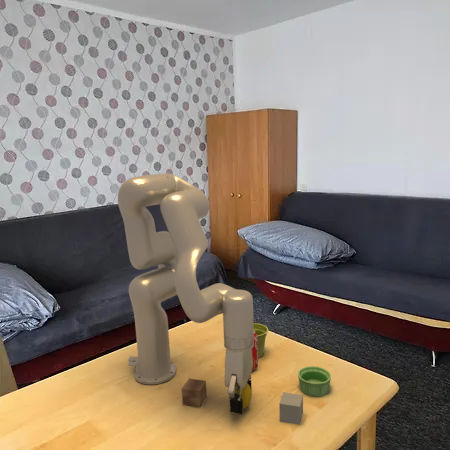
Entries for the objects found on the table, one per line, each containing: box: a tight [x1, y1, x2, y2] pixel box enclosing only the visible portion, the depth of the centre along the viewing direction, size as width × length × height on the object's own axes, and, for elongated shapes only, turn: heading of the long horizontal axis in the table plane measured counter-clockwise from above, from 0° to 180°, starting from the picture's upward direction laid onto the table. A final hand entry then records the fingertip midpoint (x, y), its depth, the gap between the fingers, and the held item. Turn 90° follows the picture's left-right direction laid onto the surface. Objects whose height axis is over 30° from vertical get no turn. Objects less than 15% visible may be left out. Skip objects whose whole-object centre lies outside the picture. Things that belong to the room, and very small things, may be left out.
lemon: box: [235, 383, 253, 409], centre depth 108 cm, size 6×6×8 cm
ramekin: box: [297, 365, 332, 397], centre depth 116 cm, size 9×9×4 cm
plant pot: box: [253, 322, 269, 358], centre depth 137 cm, size 9×9×9 cm
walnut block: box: [181, 378, 208, 409], centre depth 113 cm, size 5×5×5 cm
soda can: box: [252, 330, 259, 372], centre depth 128 cm, size 7×7×12 cm
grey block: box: [278, 392, 304, 426], centre depth 105 cm, size 5×5×5 cm
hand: (241, 402), depth 109 cm, fingers open, 7 cm apart
